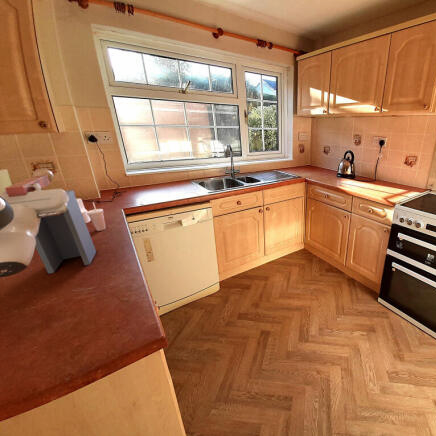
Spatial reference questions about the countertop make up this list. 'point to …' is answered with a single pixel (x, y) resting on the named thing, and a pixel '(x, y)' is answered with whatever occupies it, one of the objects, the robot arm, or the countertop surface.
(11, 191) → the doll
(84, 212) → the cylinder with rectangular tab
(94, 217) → the smoothie
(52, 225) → the shelf
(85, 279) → the countertop surface
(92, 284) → the countertop surface
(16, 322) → the countertop surface
